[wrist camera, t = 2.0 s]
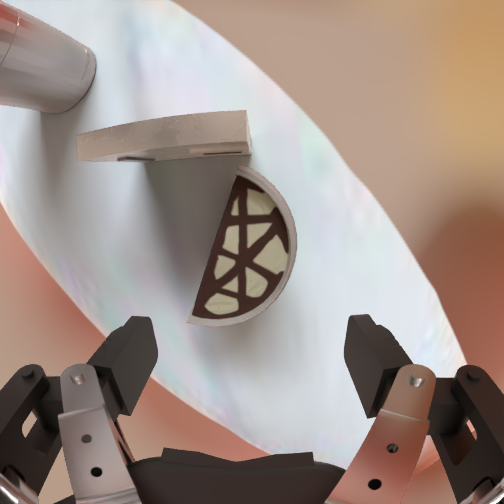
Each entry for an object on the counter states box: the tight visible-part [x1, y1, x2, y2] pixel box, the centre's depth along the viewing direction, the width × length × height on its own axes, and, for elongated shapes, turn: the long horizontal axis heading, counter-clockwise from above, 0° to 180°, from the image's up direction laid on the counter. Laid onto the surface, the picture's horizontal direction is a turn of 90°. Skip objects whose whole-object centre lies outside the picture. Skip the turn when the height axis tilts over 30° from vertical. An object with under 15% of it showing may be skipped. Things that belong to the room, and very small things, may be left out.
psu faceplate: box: [77, 110, 251, 163], centre depth 20 cm, size 11×2×12 cm, turn 91°
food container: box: [187, 164, 297, 327], centre depth 24 cm, size 12×6×10 cm, turn 160°
